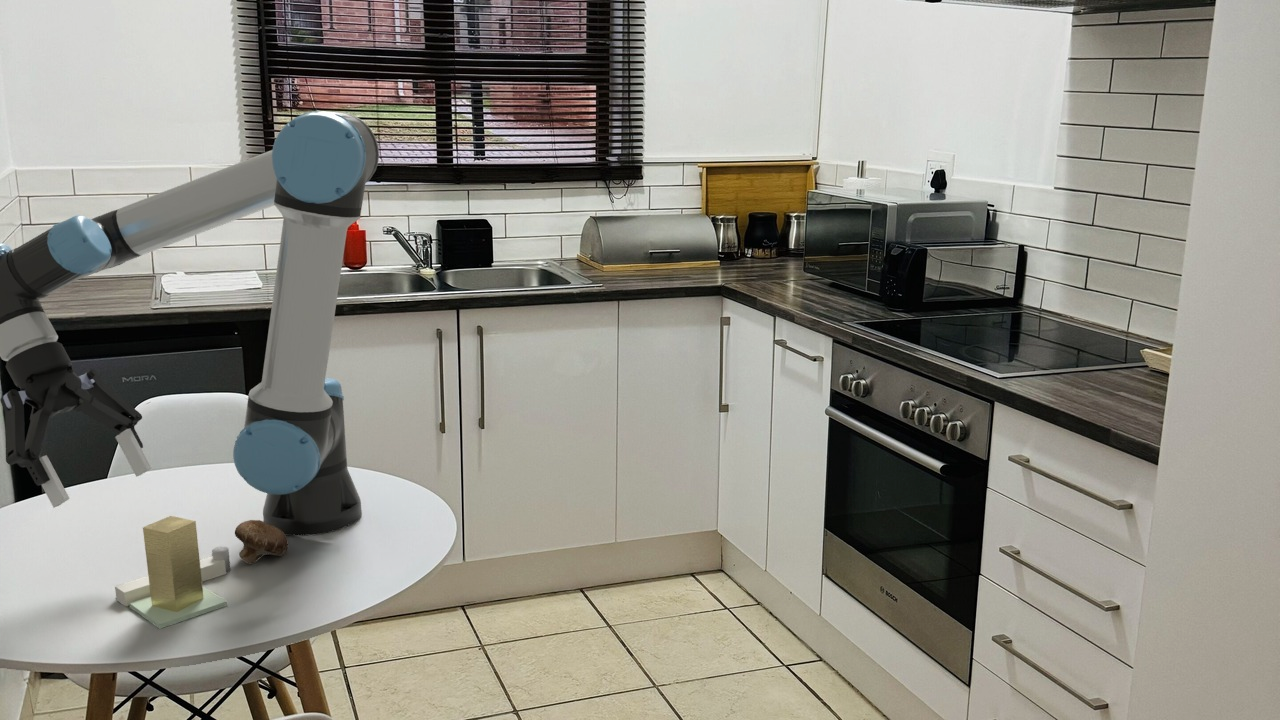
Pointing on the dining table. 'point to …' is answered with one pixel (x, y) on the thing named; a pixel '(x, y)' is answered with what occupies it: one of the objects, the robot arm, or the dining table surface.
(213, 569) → the door edge
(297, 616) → the dining table surface
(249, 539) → the mushroom
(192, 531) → the block
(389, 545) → the dining table surface
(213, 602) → the plate
